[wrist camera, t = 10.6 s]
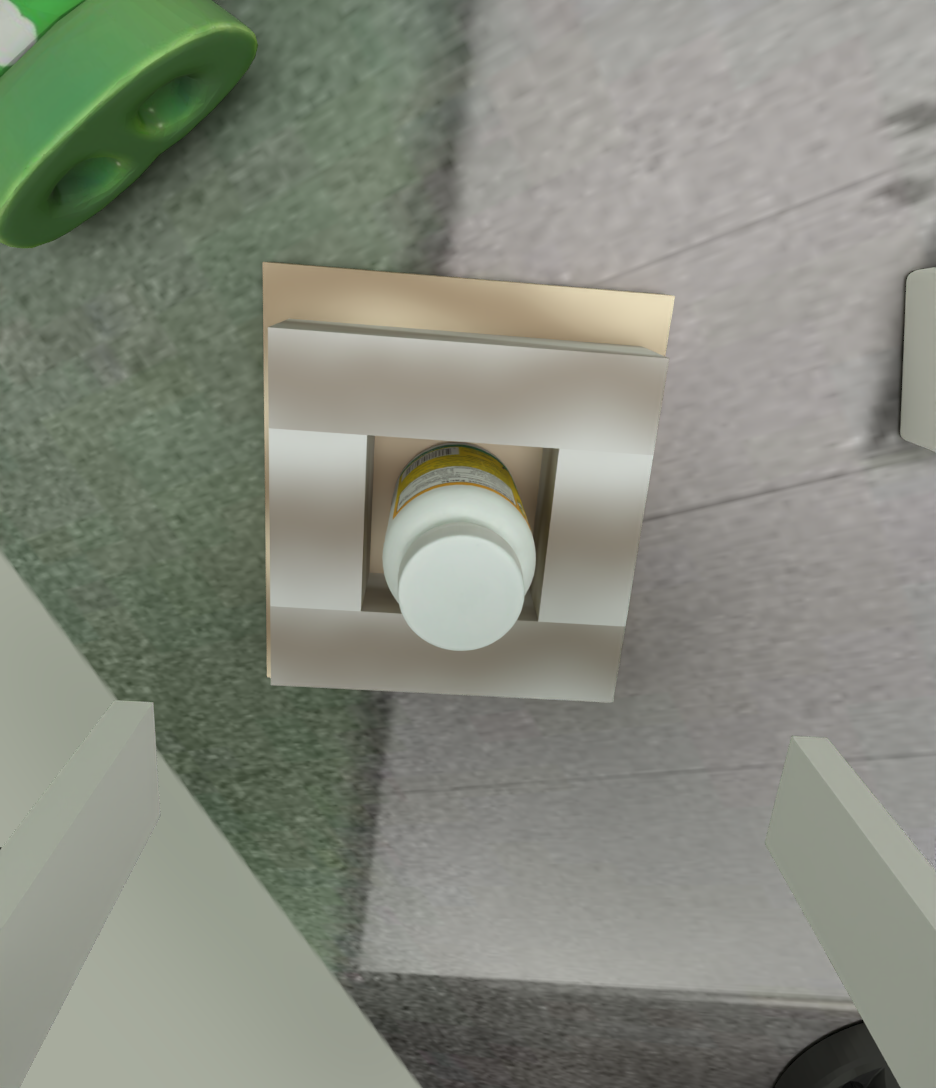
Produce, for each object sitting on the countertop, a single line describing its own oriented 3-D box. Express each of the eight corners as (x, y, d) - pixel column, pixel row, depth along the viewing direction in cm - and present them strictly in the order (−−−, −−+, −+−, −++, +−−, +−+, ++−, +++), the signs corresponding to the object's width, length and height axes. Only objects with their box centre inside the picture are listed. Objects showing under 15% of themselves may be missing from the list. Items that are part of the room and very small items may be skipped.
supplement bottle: (420, 420, 32) (414, 485, 23) (539, 468, 33) (577, 549, 24) (374, 534, 34) (350, 637, 25) (488, 578, 35) (505, 691, 26)
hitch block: (604, 679, 38) (629, 745, 33) (273, 661, 37) (246, 726, 32) (664, 294, 32) (707, 301, 27) (270, 261, 31) (236, 263, 26)
